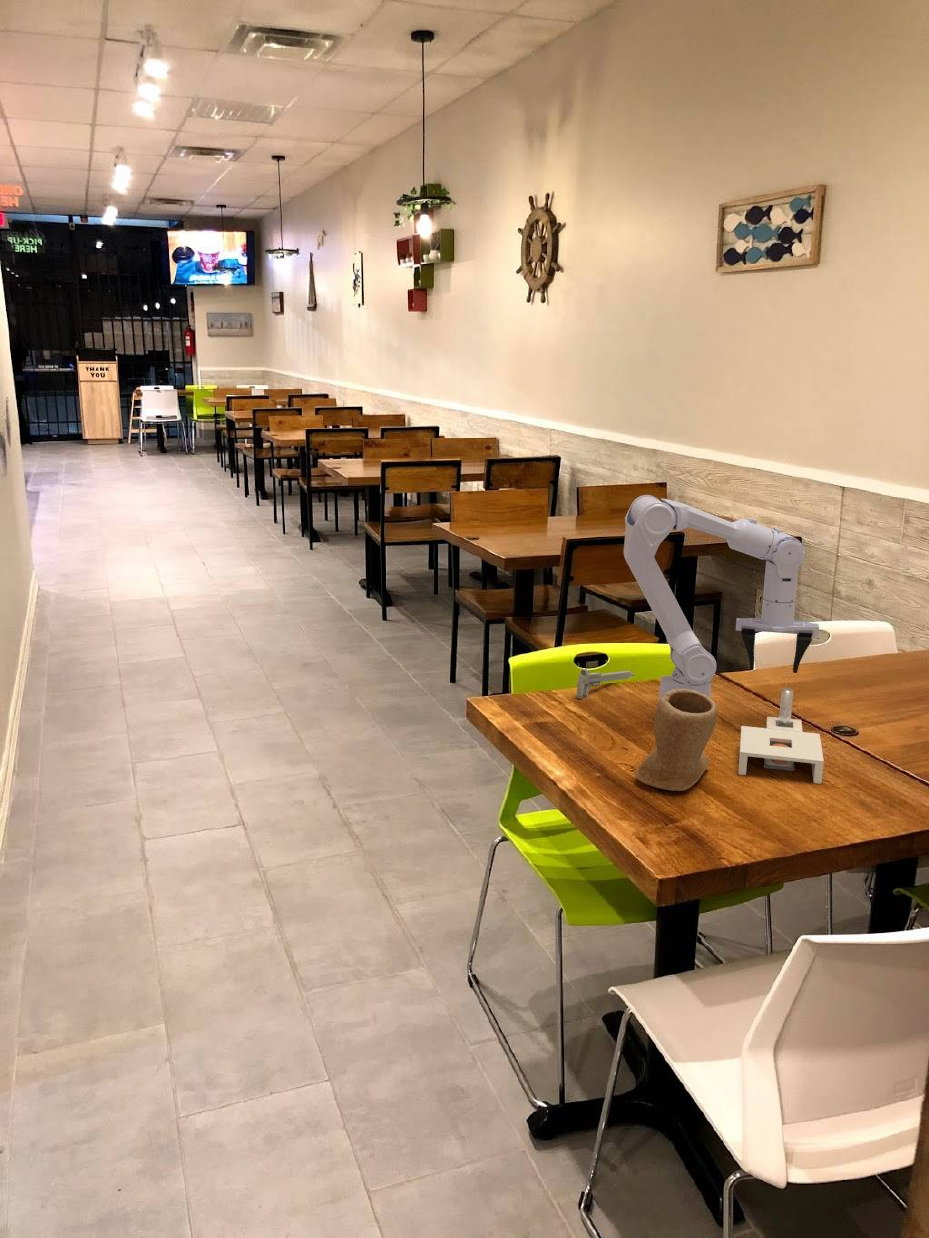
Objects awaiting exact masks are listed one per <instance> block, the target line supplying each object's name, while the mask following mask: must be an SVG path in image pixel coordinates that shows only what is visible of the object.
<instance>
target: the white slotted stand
mask: <svg viewBox="0 0 929 1238" xmlns="http://www.w3.org/2000/svg"><path fill="white" fill-rule="evenodd" d="M739 741H740V742H739V756H738V757H739V758H738V772H737V773H738V775H739V776H740V775H743V776H746V775H747V767H748V766H747V764H748V757H752V758H760V759H761V758H762V759H764V758H768V759H777V760H786V761H794V763H795V762H796V763H799V762H800V763H806V764H810V765H811V773H812V781H813V784H818V785H819V784H820V785H821V784H822V782H823V780H822V779H823V773H824V772H823V771H824V761H825V760H824V754H823V753H824V752H823V749H822V748H823V747H822V746H823V745H822V741H821V735H820V733H815V732H807V731H806V732H805V731H803V732H797V731H787V730H777V729H768V728H766V727H756V726H746V725H741V727H740V740H739ZM773 744H784V745H787V746H788V747H789V748H788V747H779V746H772V745H773Z"/></svg>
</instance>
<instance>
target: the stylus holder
mask: <svg viewBox="0 0 929 1238" xmlns="http://www.w3.org/2000/svg"><path fill="white" fill-rule="evenodd" d="M802 723H803V722H802V719H797V718H791V722H790V728H789V727H780V726H778V725H779V717H775V716H766V725H765V726H766V727H765V728H768V729H777V730H787V731H797V732H804V731H803V724H802Z"/></svg>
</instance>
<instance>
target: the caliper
mask: <svg viewBox="0 0 929 1238" xmlns="http://www.w3.org/2000/svg"><path fill="white" fill-rule="evenodd" d="M580 670H581V671H580V674H579V675H578V678H577V683H576V686H577V687H576V698H577V699H578V700H579V699H580V700H583V698H585V699H586V698H588V696H589V693H590V689H591V687H600V685H601V683H603V682H611V681H619V680H626V679H627V680H628V679H629V678H631V677H632V676H635V674H634V673H632V671H630V670H621V671H615V672H608V673H607V672H606V673H600V672H591V673H589V672H590V669H588V668H587V669H586V668H584V669H580Z"/></svg>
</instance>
